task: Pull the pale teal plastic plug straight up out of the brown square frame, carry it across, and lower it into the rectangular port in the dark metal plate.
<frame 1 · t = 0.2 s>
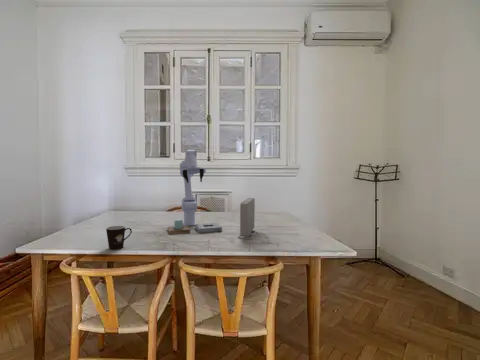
hand: (194, 181, 173), 31 cm above the table, tool tilted 45°, fingers open, 7 cm apart
port plate: (208, 229, 186), on the table
brown square frame: (178, 231, 181), on the table
plug: (178, 225, 181), in the brown square frame
coffee mug: (119, 248, 146), on the table
network device: (247, 235, 173), on the table
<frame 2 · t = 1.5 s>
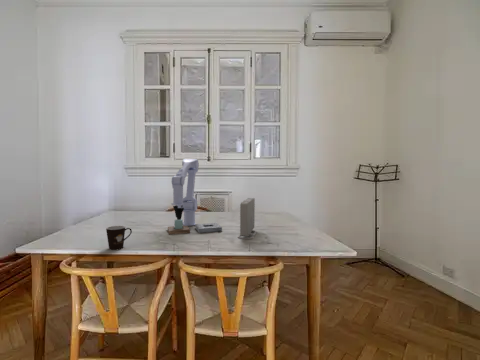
hand: (178, 218, 181), 8 cm above the table, tool pointing down, fingers open, 7 cm apart
nothing on the table moved.
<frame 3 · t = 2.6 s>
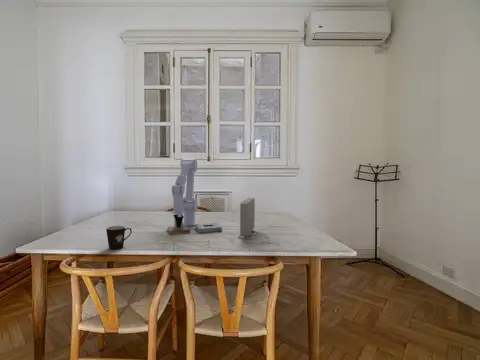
hand: (178, 226, 181), 3 cm above the table, tool pointing down, fingers closed on plug, 3 cm apart
plug: (178, 225, 181), in the brown square frame, touching gripper
everything else where it was.
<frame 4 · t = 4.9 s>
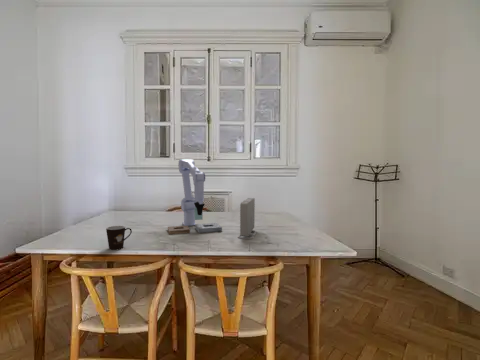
hand: (199, 214, 184), 10 cm above the table, tool pointing down, fingers closed on plug, 3 cm apart
plug: (198, 213, 184), point 10 cm above the table, touching gripper
everything else where it was.
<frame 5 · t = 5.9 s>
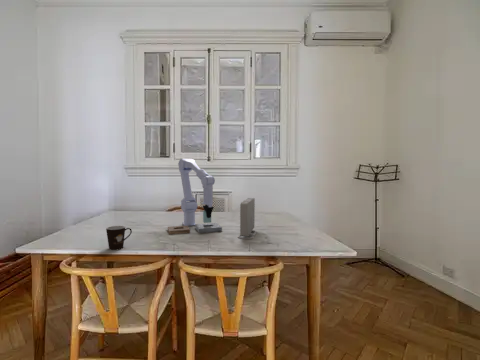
hand: (208, 217, 186), 8 cm above the table, tool pointing down, fingers closed on plug, 3 cm apart
plug: (207, 216, 185), point 8 cm above the table, touching gripper
everything else where it was.
when the fingers open (4 cm above the table, at t = 7.0 s): plug drops 1 cm, resting in port plate.
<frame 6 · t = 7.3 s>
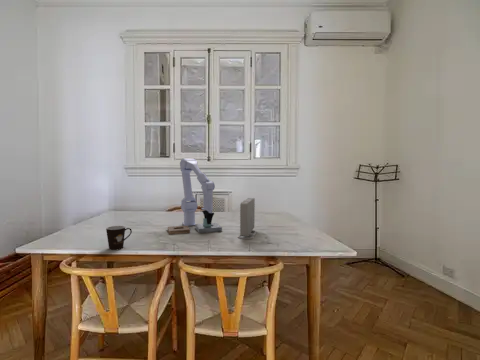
hand: (208, 222, 186), 4 cm above the table, tool pointing down, fingers open, 6 cm apart
plug: (207, 224, 186), in the port plate
everything else where it was.
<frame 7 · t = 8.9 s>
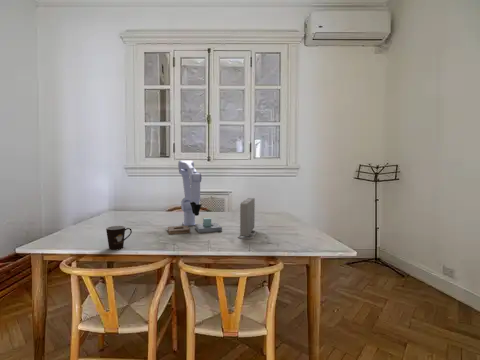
hand: (195, 214, 186), 9 cm above the table, tool pointing down, fingers open, 7 cm apart
nothing on the table moved.
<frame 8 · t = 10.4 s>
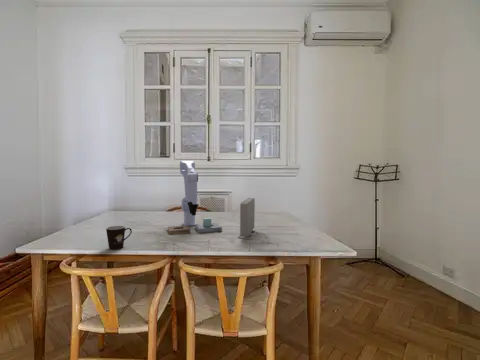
hand: (192, 214, 186), 9 cm above the table, tool pointing down, fingers open, 7 cm apart
nothing on the table moved.
at the end: plug 0.6 cm off-centre on the port plate, point 3.4 cm above the port plate's base; plug tilted 0°; the gripper is holding nothing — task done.
